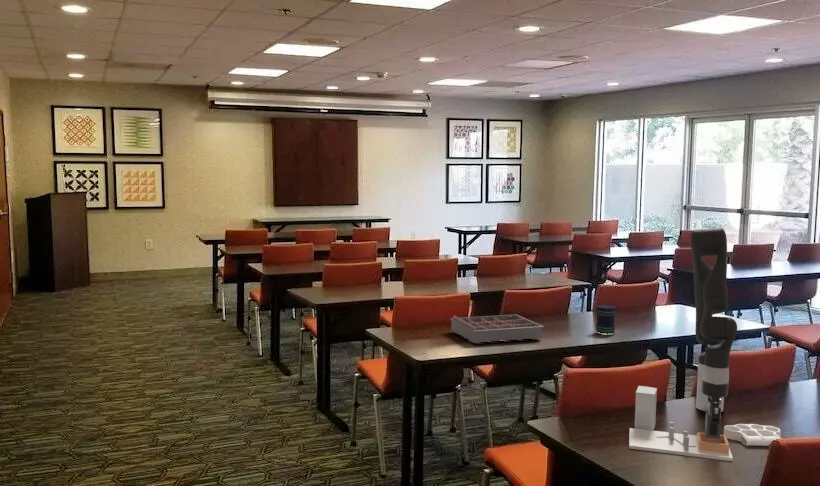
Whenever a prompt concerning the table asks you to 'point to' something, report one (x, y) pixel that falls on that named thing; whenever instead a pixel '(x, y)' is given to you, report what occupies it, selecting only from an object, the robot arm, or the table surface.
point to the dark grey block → (707, 427)
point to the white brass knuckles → (752, 434)
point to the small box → (645, 408)
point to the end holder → (709, 444)
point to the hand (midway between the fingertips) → (712, 432)
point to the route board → (672, 443)
